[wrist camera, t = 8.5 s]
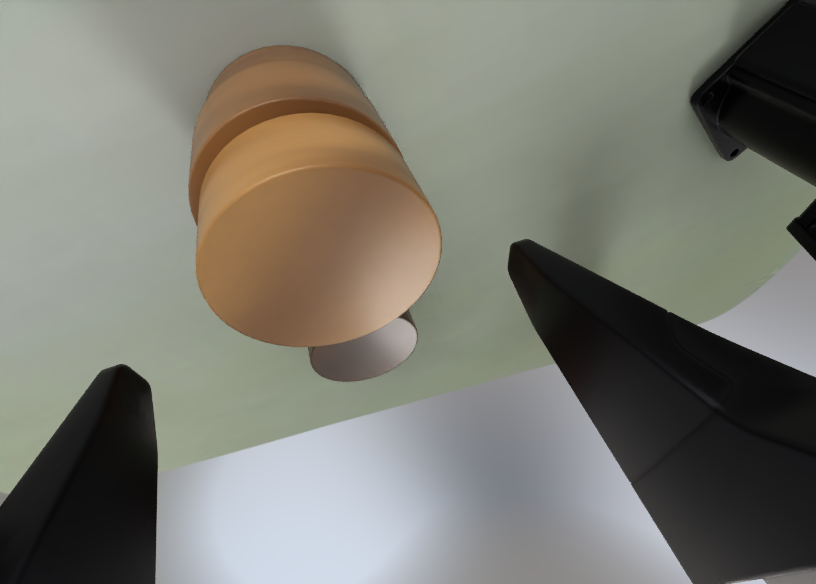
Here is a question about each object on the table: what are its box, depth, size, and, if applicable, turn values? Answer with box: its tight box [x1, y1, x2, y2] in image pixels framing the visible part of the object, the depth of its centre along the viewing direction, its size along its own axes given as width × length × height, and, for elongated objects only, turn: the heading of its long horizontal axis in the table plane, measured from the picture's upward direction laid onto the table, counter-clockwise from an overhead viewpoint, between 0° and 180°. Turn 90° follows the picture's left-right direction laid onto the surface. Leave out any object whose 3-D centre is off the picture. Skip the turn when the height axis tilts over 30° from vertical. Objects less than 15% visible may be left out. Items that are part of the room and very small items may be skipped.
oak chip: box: [196, 113, 442, 347], centre depth 11 cm, size 6×6×2 cm
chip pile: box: [188, 46, 403, 227], centre depth 13 cm, size 6×6×5 cm
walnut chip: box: [308, 309, 418, 382], centre depth 23 cm, size 6×6×2 cm
